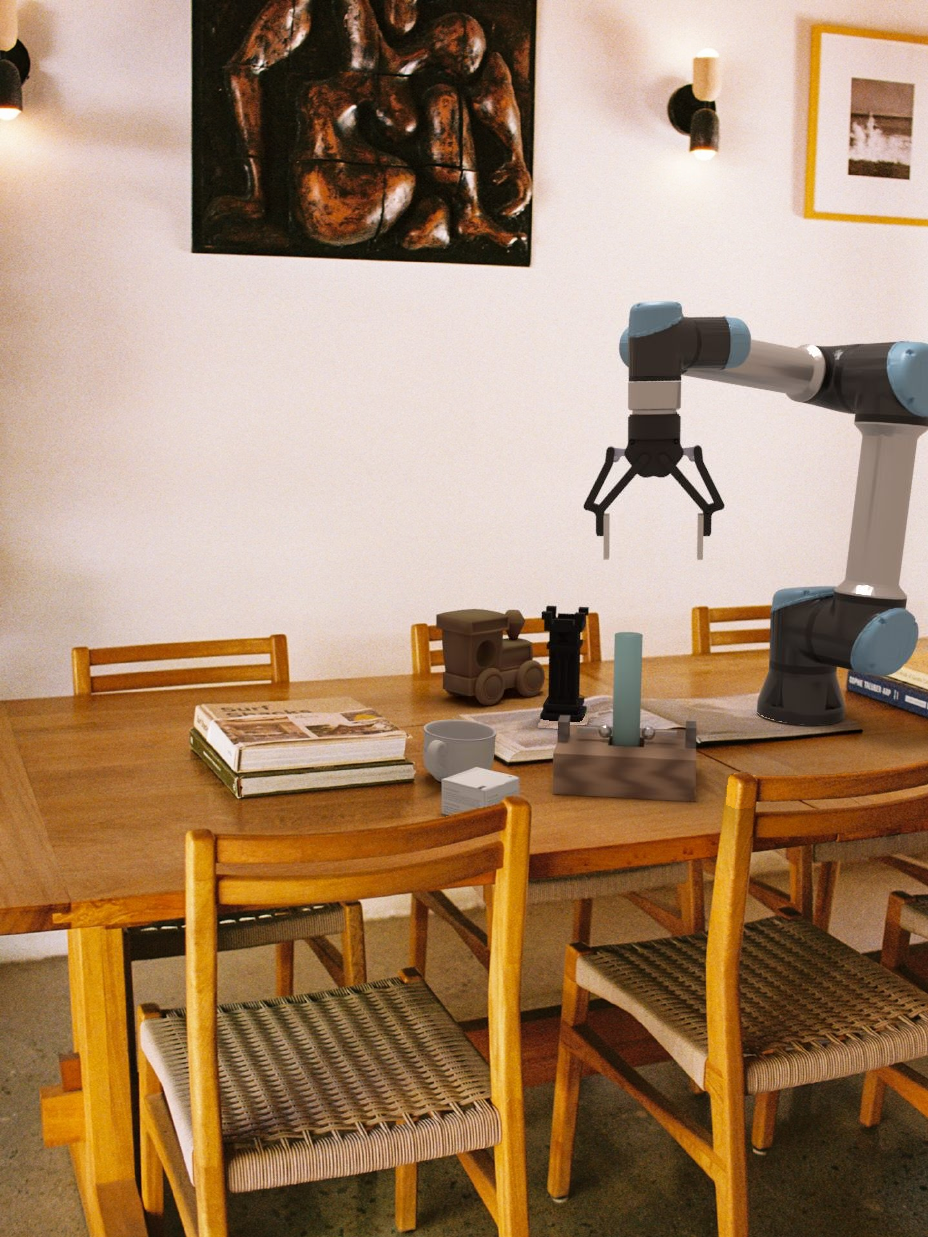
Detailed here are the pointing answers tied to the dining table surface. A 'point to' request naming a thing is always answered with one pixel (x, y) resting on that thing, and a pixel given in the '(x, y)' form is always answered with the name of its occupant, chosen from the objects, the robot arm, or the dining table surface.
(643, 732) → the plunger
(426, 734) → the teacup
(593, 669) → the dining table surface
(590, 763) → the walnut socket block
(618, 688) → the teal peg
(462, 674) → the wooden toy train
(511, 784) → the small box
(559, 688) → the chess piece
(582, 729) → the plunger
